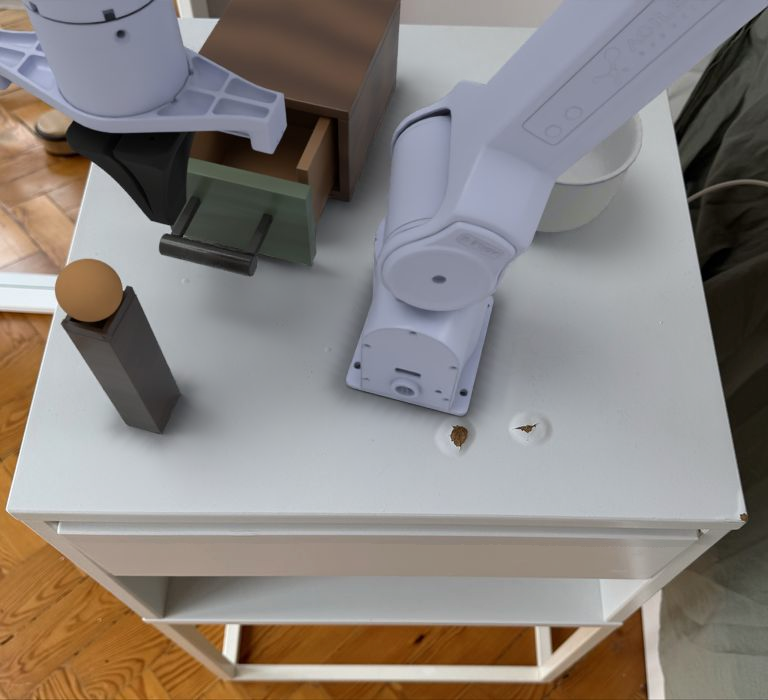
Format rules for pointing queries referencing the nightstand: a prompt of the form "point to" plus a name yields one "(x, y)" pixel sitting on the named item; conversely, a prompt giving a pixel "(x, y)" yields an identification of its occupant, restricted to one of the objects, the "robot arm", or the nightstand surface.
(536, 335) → the nightstand surface
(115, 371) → the stand
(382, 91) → the cabinet
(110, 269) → the ball
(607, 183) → the teacup
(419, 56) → the nightstand surface
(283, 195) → the drawer
